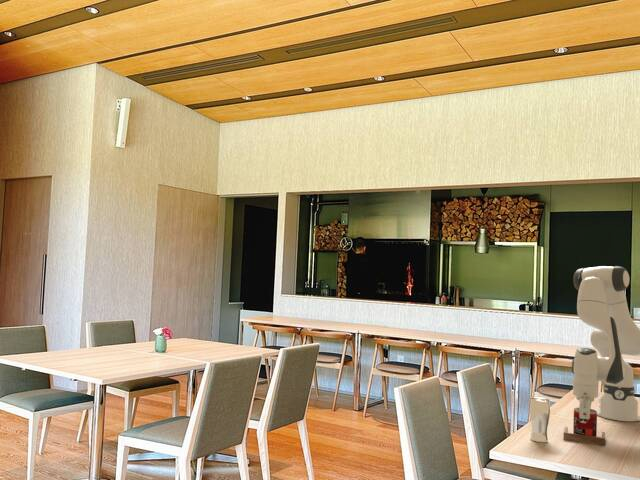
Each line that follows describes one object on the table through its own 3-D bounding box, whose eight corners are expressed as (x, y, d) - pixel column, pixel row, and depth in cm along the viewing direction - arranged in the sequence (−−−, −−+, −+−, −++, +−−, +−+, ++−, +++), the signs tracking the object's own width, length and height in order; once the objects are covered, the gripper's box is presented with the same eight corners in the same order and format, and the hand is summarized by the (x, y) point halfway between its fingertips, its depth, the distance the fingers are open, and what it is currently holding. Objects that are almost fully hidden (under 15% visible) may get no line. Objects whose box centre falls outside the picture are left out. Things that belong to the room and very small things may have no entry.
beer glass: (550, 443, 216) (551, 401, 217) (530, 441, 217) (531, 400, 218) (547, 438, 223) (548, 398, 224) (527, 436, 224) (529, 396, 225)
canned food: (569, 436, 227) (569, 407, 228) (589, 436, 228) (589, 407, 229) (580, 442, 220) (580, 412, 220) (600, 442, 221) (601, 412, 221)
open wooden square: (564, 433, 232) (564, 426, 232) (604, 438, 226) (604, 432, 226) (563, 439, 223) (563, 432, 223) (605, 445, 217) (605, 438, 217)
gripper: (594, 397, 220) (593, 435, 219) (594, 387, 238) (593, 423, 238) (575, 394, 223) (574, 432, 222) (577, 386, 241) (576, 420, 240)
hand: (584, 427), depth 230 cm, fingers closed
